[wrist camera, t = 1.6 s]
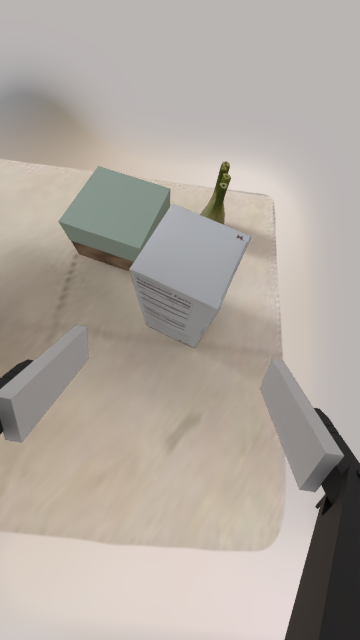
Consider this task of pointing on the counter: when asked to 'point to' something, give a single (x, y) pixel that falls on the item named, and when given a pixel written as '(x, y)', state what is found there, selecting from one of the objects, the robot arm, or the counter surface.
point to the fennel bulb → (218, 196)
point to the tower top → (116, 213)
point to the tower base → (103, 256)
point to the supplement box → (186, 273)
